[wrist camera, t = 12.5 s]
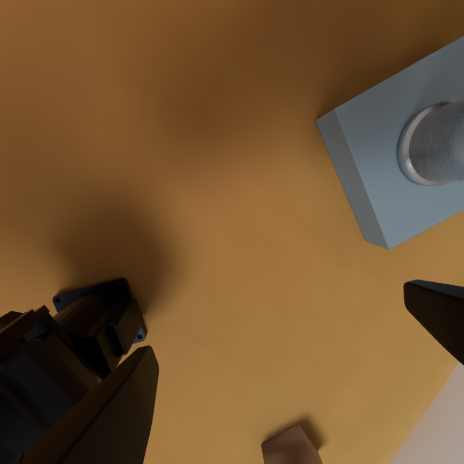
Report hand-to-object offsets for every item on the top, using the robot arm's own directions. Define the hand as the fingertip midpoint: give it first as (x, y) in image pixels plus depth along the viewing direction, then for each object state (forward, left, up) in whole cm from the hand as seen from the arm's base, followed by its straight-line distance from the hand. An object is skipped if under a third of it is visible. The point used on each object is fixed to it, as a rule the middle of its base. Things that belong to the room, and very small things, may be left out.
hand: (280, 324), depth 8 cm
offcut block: (0, -26, -13) cm, 29 cm away
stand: (+16, +4, -13) cm, 21 cm away
